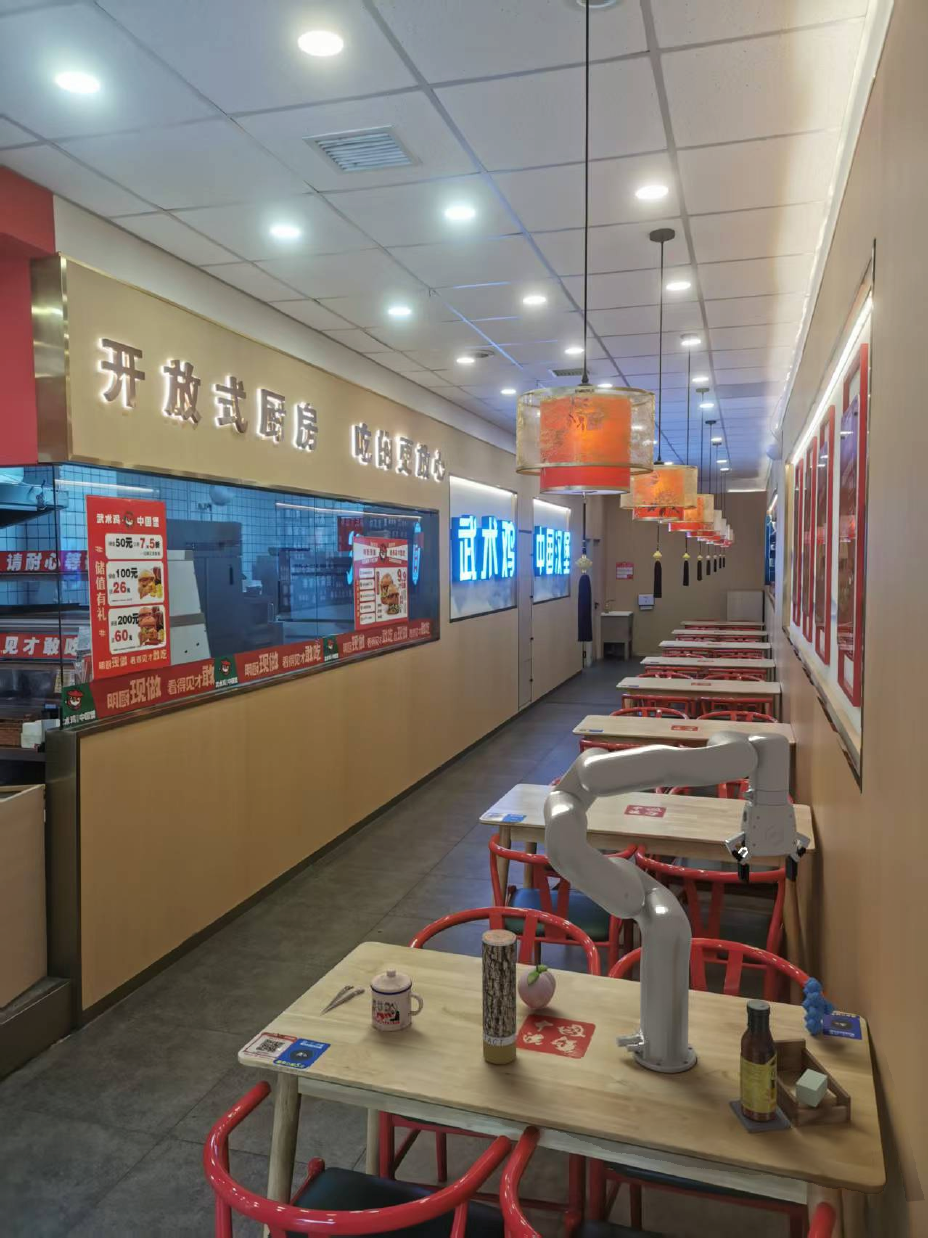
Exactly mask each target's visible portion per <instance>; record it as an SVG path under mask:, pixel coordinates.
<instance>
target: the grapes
mask: <svg viewBox="0 0 928 1238" xmlns="http://www.w3.org/2000/svg"><path fill="white" fill-rule="evenodd" d="M804 986H805V988H804V989H803V990H802V992H803V993H804V995H805V996H806V998H805V1000H803V1002H802V1003H801V1006H802V1008H803V1009H804V1010H805V1011H806V1014H805V1016H803V1020H804V1021H805V1022H806V1024H805V1026H804V1027H805V1028H806V1030H807V1031H808V1032H809V1033H810V1034H812V1035H814V1036H815V1035H817V1034H818V1033H819V1032H821V1031H822V1030H823V1028H824V1027H825V1025H824V1024H823V1023H822V1020H823V1019H824V1018H825V1017H826V1016H830V1015H831V1014H833V1013H834V1011H835V1010H836V1007H835V1006H834V1005H833V1002H831V1001H830V1000H827V999H825V998H824V996H823V994H822V993H821V992H822V991H823V990H824V987H822V985H821V983H820V982H819V980H817V979H816V978H814V977H810V978H808V979H807V980H806V982H805V983H804Z"/></svg>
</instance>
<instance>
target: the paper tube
mask: <svg viewBox="0 0 928 1238" xmlns="http://www.w3.org/2000/svg"><path fill="white" fill-rule="evenodd" d="M516 937H517V936H516V934H515V932H513V931H510V930H508V929H507V930H506V929H490V930H487V931H485V932H484V933H483V934H482V935H481V954H482V955H481V961H482V963H481V966H482V967H481V970H482V971H481V973H482V976H481V977H482V978H481V979H482V980H481V982H482V985H481V986H482V989H481V990H482V994H481V995H482V1055H483V1058H484V1059H485V1061H487V1062H489V1063H491V1064H494V1065H506V1064H509V1063H511V1062H513V1061H514V1060H515V1058H516V1057H517V938H516Z"/></svg>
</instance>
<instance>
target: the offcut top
mask: <svg viewBox="0 0 928 1238" xmlns="http://www.w3.org/2000/svg"><path fill="white" fill-rule="evenodd" d="M795 1090H796V1099H797V1100H798V1101H801V1102H803V1103H806V1104H809V1105H811V1106H814V1107H816V1106H817V1105H818V1103H819V1102H820V1101H821V1099H822V1098H823V1097H824V1095H825V1094H826V1093H827V1075H824V1074H821V1073H818V1072H815V1071H813V1070H810V1069H807V1071H806V1072H805V1073H803V1074H802V1076H801V1077H799V1079H798V1080H797V1081H796V1083H795Z"/></svg>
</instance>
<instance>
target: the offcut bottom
mask: <svg viewBox="0 0 928 1238" xmlns="http://www.w3.org/2000/svg"><path fill="white" fill-rule="evenodd" d="M790 1092H791V1093H792V1094H793V1095H794V1096H795V1098H796V1089H795V1090H790ZM834 1106H836V1096H835V1095H834V1094H833V1093H832V1092H831V1091H830V1090H829V1089H827V1093H826V1094H825V1095H824V1097H823V1098H822V1099H821V1101H820V1102H819V1103H818V1105H817V1106H816V1107H814V1106H811V1105H809V1104H806V1103H803V1102H801V1101H799V1104H798V1109H810V1108H822V1107H834Z"/></svg>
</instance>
